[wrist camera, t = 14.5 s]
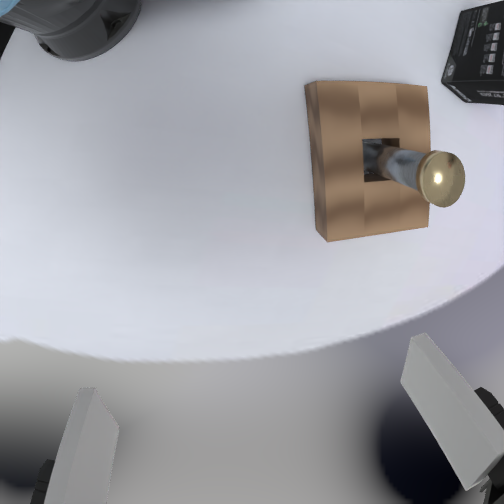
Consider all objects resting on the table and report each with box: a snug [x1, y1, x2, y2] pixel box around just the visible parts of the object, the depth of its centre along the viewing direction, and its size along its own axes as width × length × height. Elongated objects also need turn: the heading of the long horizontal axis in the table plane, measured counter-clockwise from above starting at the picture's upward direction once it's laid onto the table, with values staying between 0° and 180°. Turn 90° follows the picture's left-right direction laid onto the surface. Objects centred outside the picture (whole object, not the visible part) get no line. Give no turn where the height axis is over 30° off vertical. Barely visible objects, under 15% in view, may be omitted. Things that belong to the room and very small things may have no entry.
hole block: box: [304, 81, 431, 242], centre depth 39 cm, size 20×16×5 cm
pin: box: [362, 141, 465, 207], centre depth 33 cm, size 5×5×18 cm
